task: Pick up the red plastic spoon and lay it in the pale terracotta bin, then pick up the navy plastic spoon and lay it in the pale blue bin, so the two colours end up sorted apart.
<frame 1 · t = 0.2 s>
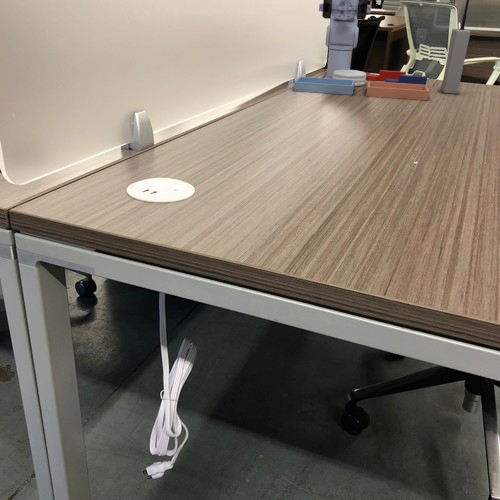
hand: (344, 8, 137), 21 cm above the table, tool horizontal, fingers open, 7 cm apart
blue bin: (324, 89, 145), on the table
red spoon: (385, 80, 162), on the table
red bin: (396, 94, 141), on the table
vintage mobile phone: (448, 92, 147), on the table
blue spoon: (405, 85, 155), on the table
coaster: (348, 84, 155), on the table
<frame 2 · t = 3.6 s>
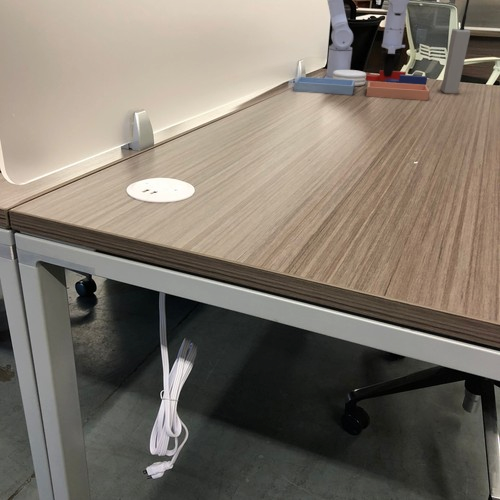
hand: (387, 75, 161), 2 cm above the table, tool pointing down, fingers closed on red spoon
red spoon: (385, 80, 162), on the table, touching gripper
everything else where it was.
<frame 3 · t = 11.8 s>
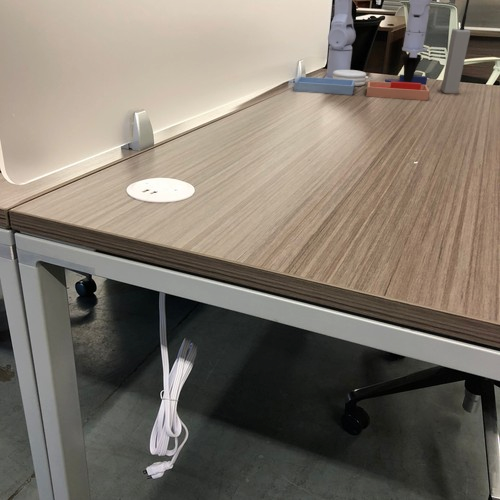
hand: (407, 80, 154), 2 cm above the table, tool pointing down, fingers closed on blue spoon
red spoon: (396, 93, 141), resting on red bin
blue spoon: (405, 85, 155), on the table, touching gripper
everything else where it was.
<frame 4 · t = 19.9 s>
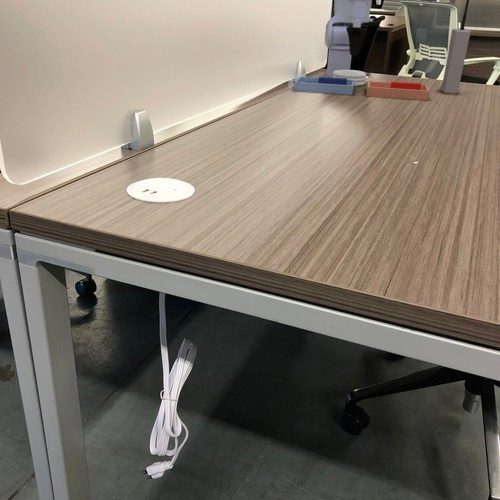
hand: (354, 53, 145), 9 cm above the table, tool pointing down, fingers open, 7 cm apart
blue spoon: (324, 88, 144), resting on blue bin
everything else where it was.
at the end: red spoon inside the target area in the red bin (0.1 cm from its centre), point 0.4 cm above the red bin's base; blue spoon inside the target area in the blue bin (0.1 cm from its centre), point 0.4 cm above the blue bin's base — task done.
